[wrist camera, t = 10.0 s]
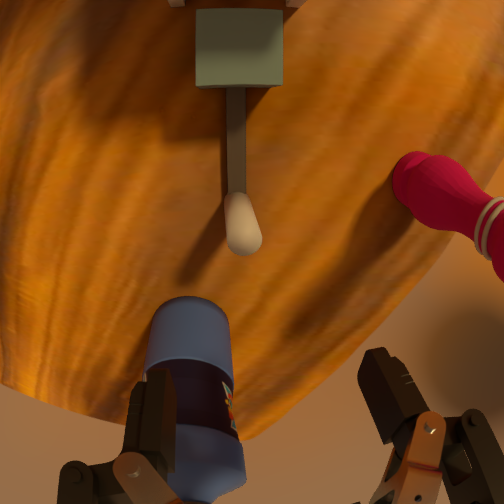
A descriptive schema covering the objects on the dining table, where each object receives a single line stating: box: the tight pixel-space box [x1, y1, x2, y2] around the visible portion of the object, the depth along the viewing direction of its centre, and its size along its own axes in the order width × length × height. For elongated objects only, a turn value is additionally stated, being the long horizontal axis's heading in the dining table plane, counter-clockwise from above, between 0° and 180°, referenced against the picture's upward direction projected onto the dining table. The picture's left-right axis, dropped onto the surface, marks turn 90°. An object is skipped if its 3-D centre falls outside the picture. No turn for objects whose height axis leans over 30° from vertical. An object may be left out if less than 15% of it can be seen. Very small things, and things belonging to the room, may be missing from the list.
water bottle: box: [142, 296, 247, 504], centre depth 23 cm, size 9×9×25 cm
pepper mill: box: [392, 151, 504, 282], centre depth 20 cm, size 7×7×20 cm
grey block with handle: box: [196, 8, 283, 256], centre depth 21 cm, size 18×6×8 cm, turn 0°
